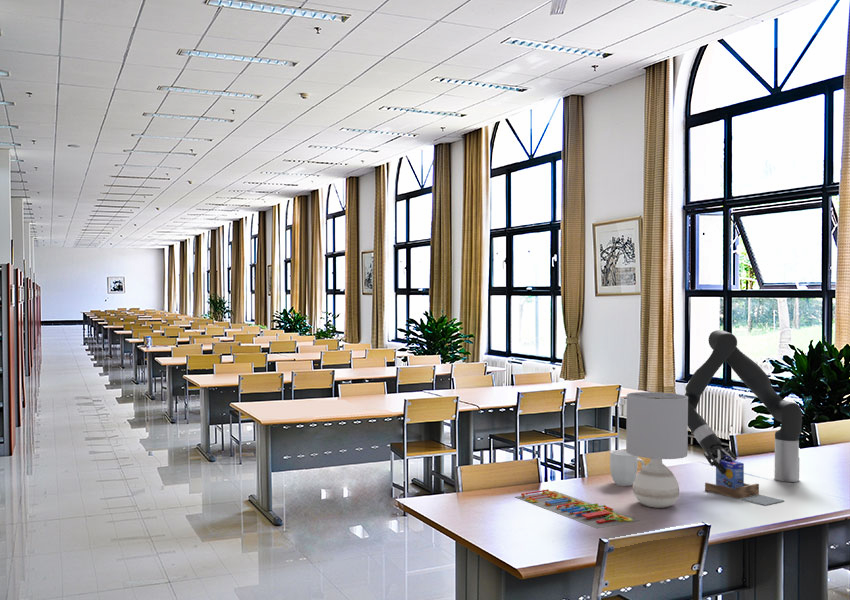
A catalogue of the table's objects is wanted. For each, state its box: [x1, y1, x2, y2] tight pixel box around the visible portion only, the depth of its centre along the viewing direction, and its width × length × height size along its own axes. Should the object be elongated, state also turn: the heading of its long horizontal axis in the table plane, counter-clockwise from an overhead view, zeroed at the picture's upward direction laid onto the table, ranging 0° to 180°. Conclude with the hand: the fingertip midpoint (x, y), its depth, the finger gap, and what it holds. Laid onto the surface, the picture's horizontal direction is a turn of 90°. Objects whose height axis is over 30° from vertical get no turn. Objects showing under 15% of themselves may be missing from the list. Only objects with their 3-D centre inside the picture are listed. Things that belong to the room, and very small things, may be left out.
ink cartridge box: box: [715, 455, 745, 489], centre depth 303 cm, size 10×6×14 cm, turn 25°
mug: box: [609, 449, 646, 487], centre depth 314 cm, size 15×11×13 cm
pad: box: [740, 494, 785, 507], centre depth 290 cm, size 12×10×1 cm
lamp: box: [625, 391, 689, 509], centre depth 282 cm, size 22×22×40 cm
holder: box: [704, 482, 760, 499], centre depth 302 cm, size 13×15×4 cm
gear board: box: [515, 488, 640, 529], centre depth 277 cm, size 45×2×19 cm
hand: (731, 471), depth 302 cm, fingers open, 8 cm apart
